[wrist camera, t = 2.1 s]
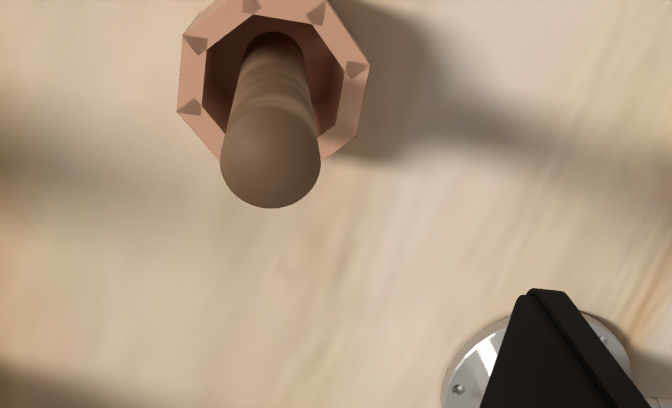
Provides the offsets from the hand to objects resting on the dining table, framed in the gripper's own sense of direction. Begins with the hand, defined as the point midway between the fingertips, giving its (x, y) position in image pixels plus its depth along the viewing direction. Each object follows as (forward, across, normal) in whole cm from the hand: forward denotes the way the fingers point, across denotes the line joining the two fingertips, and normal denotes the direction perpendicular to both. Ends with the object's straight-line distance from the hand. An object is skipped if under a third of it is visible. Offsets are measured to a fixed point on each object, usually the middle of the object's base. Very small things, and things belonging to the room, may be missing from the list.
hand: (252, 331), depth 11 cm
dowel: (+23, 0, 0) cm, 23 cm away
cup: (+24, 0, 0) cm, 24 cm away
